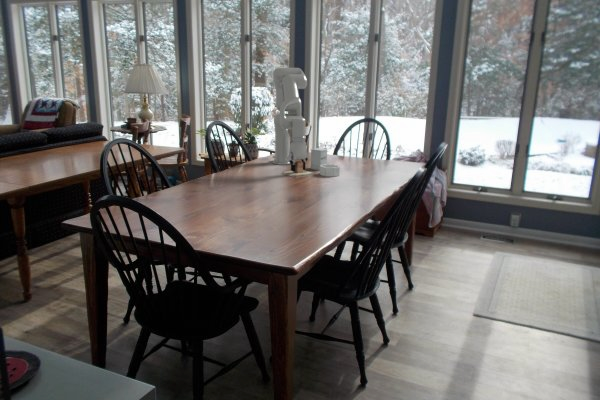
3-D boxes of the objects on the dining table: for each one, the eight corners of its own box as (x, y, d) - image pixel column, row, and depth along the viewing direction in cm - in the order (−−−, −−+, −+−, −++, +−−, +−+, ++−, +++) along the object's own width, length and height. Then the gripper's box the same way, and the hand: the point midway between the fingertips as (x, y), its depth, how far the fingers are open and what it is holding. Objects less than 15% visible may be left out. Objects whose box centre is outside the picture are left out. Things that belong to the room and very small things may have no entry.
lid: (282, 173, 290) (282, 161, 288) (299, 170, 298) (299, 159, 296) (296, 177, 280) (296, 165, 278) (313, 174, 288) (314, 162, 287)
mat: (281, 174, 290) (281, 173, 290) (299, 171, 299) (299, 170, 299) (296, 178, 280) (296, 177, 280) (314, 175, 288) (315, 174, 288)
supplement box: (320, 171, 300) (320, 150, 296) (310, 169, 304) (310, 149, 301) (327, 169, 305) (327, 148, 302) (317, 167, 310) (317, 147, 306)
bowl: (316, 174, 290) (316, 165, 288) (329, 172, 297) (330, 163, 295) (329, 178, 282) (329, 168, 280) (343, 175, 289) (343, 166, 287)
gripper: (305, 137, 292) (305, 167, 297) (282, 140, 281) (282, 171, 286) (314, 139, 286) (313, 169, 291) (291, 141, 275) (290, 173, 280)
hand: (298, 170), depth 288 cm, fingers open, 6 cm apart
